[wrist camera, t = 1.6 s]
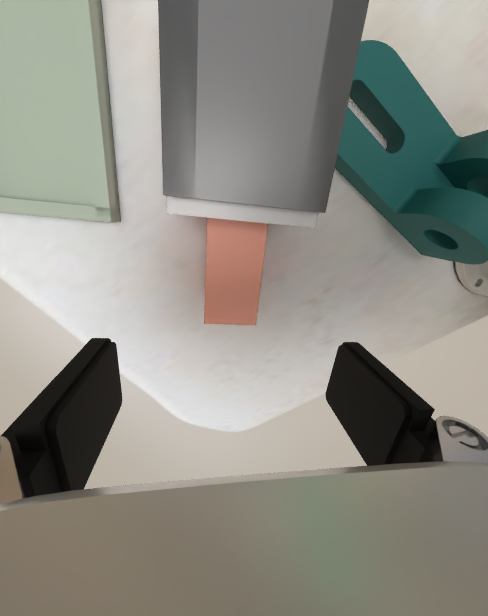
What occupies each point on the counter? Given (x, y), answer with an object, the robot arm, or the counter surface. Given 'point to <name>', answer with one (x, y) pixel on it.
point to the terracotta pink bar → (233, 271)
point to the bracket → (415, 161)
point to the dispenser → (254, 105)
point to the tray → (56, 112)
